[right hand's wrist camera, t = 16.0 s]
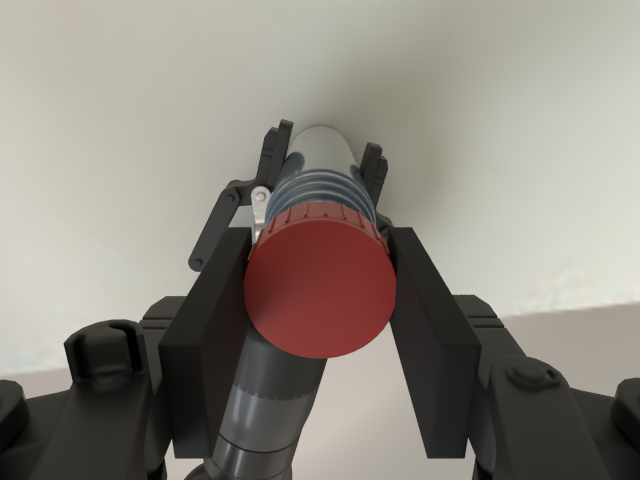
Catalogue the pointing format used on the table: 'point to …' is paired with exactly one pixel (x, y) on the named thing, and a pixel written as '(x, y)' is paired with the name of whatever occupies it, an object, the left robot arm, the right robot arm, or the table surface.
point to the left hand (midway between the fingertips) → (330, 134)
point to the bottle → (320, 175)
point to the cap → (319, 281)
